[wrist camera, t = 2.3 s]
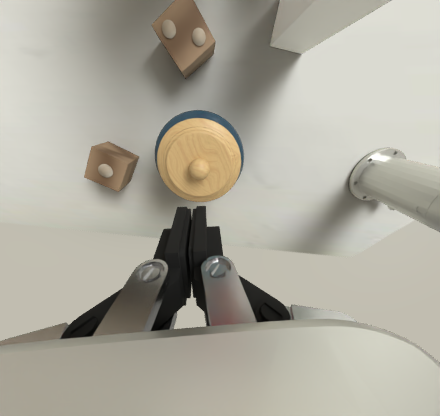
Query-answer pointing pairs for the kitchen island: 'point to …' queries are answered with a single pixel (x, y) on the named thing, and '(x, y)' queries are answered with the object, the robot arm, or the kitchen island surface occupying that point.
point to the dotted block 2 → (185, 35)
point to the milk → (316, 21)
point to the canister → (199, 155)
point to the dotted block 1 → (110, 166)
